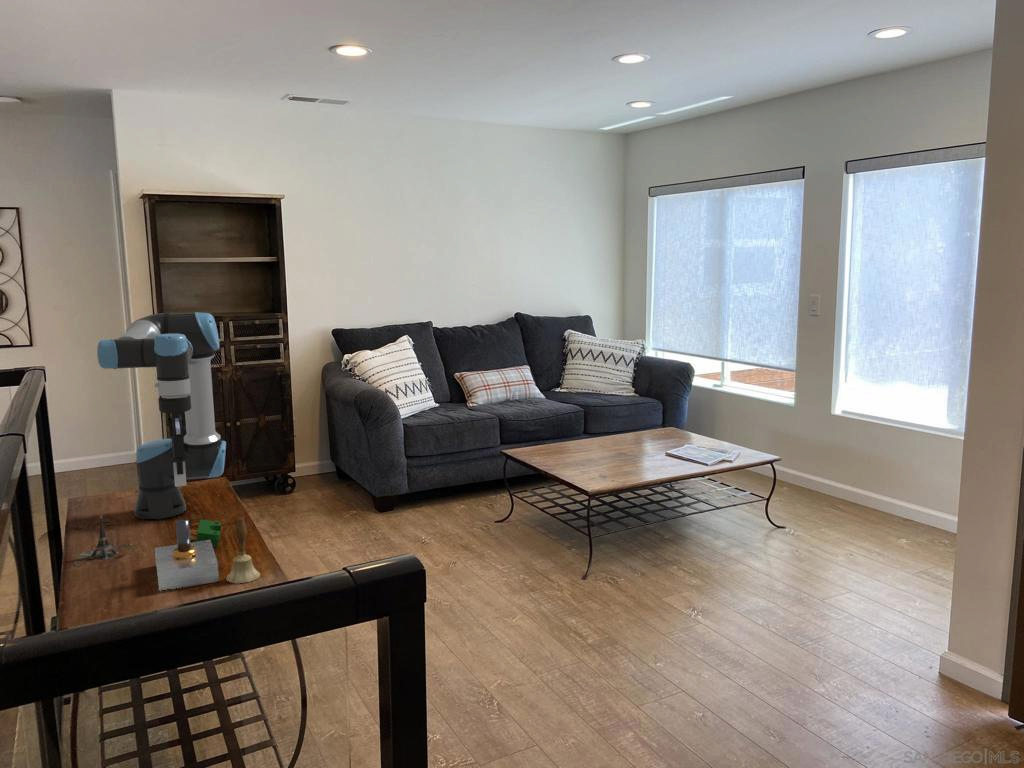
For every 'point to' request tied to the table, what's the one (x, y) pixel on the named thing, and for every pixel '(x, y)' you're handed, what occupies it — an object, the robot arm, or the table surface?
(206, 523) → the clamp
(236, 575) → the hand bell
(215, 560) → the hole block
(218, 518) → the table surface
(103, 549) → the eiffel tower figurine
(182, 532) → the pin
